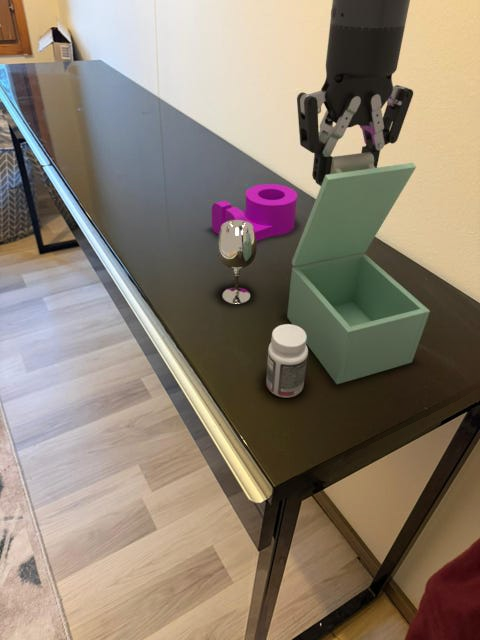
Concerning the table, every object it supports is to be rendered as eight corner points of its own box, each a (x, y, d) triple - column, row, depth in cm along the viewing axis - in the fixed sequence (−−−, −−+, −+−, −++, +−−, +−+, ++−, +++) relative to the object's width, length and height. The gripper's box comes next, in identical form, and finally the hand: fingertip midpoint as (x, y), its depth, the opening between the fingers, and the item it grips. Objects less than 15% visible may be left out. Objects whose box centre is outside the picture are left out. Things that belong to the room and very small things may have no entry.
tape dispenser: (273, 208, 97) (275, 180, 93) (304, 227, 91) (307, 197, 87) (210, 228, 90) (209, 198, 86) (239, 249, 83) (239, 218, 79)
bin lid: (416, 166, 52) (394, 136, 55) (328, 179, 49) (308, 146, 51) (365, 252, 66) (349, 225, 68) (293, 266, 62) (279, 237, 65)
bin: (412, 362, 61) (430, 310, 55) (336, 384, 58) (348, 332, 52) (353, 301, 72) (363, 252, 66) (286, 317, 68) (291, 267, 63)
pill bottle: (309, 380, 58) (317, 330, 53) (292, 404, 55) (299, 354, 50) (277, 366, 60) (281, 316, 55) (258, 388, 57) (261, 338, 52)
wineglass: (210, 296, 72) (208, 228, 64) (234, 281, 75) (235, 214, 68) (238, 311, 69) (239, 241, 62) (261, 294, 73) (265, 226, 65)
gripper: (323, 25, 42) (306, 201, 52) (449, 21, 46) (410, 185, 56) (288, 18, 47) (278, 178, 57) (403, 15, 51) (375, 165, 62)
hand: (343, 181), depth 57 cm, fingers closed on bin lid, 5 cm apart
